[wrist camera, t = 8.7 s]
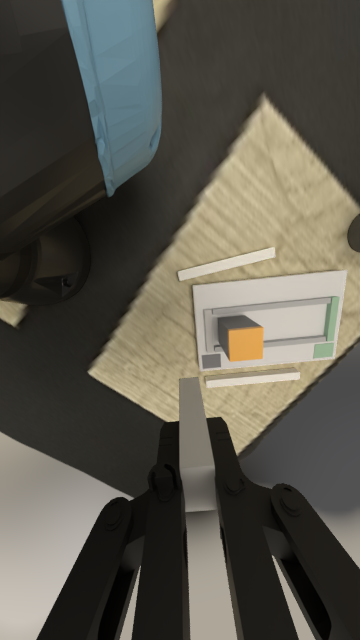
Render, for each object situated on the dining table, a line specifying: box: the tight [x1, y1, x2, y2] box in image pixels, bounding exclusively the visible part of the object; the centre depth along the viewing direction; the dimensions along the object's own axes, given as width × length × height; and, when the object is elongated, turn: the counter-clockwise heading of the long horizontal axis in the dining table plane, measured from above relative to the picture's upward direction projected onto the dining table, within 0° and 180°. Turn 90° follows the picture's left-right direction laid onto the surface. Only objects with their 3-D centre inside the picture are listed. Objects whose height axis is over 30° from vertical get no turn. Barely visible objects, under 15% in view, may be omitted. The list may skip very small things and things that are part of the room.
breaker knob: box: [218, 315, 264, 362], centre depth 24 cm, size 4×4×6 cm
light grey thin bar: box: [177, 247, 275, 281], centre depth 26 cm, size 14×1×1 cm, turn 104°
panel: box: [192, 270, 347, 371], centre depth 28 cm, size 22×14×3 cm, turn 96°
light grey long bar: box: [205, 368, 300, 388], centre depth 31 cm, size 16×1×1 cm, turn 96°
